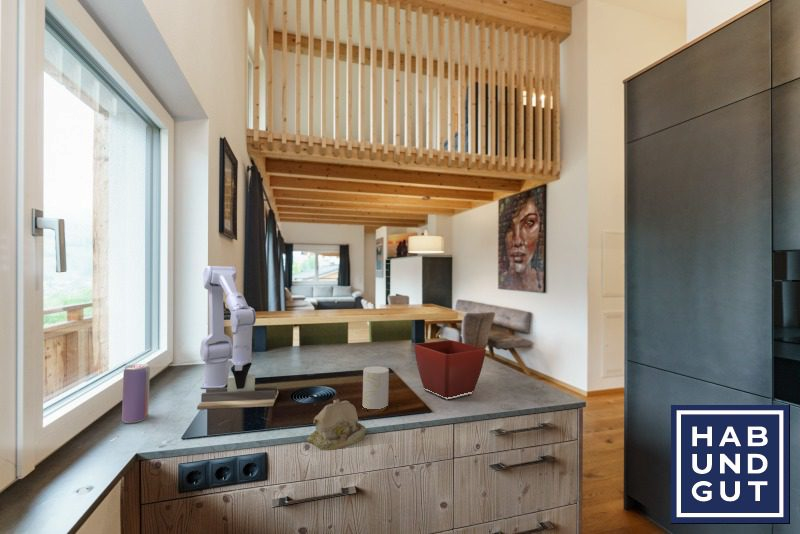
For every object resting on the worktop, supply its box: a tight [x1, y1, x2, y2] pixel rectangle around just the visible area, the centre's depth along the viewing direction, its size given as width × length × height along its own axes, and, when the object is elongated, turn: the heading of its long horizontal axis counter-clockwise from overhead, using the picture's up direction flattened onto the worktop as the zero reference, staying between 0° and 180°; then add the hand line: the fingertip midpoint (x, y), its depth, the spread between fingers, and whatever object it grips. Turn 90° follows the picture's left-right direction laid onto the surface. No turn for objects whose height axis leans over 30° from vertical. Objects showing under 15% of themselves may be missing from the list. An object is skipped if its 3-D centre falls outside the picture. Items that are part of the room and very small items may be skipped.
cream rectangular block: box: [226, 374, 256, 392], centre depth 117 cm, size 2×8×7 cm, turn 107°
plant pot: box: [413, 339, 487, 398], centre depth 130 cm, size 19×19×17 cm
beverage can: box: [121, 363, 151, 424], centre depth 101 cm, size 6×6×15 cm
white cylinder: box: [362, 365, 390, 409], centre depth 114 cm, size 8×8×12 cm
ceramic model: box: [306, 398, 366, 451], centre depth 92 cm, size 14×11×10 cm
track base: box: [196, 386, 279, 410], centre depth 117 cm, size 12×22×4 cm, turn 101°
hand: (241, 387), depth 117 cm, fingers closed on cream rectangular block, 2 cm apart
